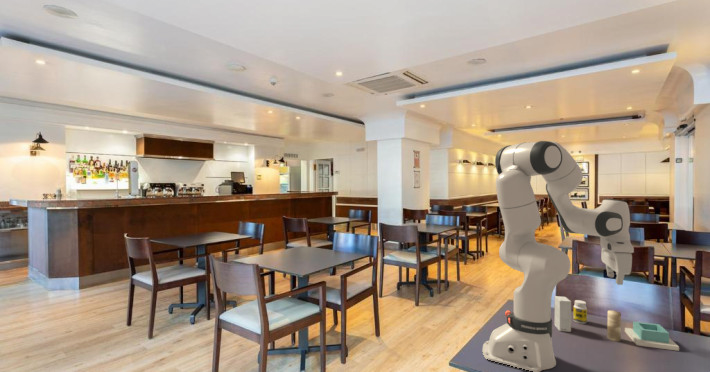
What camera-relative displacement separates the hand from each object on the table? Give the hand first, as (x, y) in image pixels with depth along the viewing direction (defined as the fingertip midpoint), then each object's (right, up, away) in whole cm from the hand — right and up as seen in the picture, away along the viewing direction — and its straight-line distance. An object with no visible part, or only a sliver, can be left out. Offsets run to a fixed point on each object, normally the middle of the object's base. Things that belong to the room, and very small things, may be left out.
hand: (614, 280), depth 131 cm
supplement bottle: (-3, -22, +16) cm, 27 cm away
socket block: (+12, -22, -1) cm, 25 cm away
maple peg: (0, -22, 0) cm, 22 cm away
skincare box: (-14, -22, +10) cm, 28 cm away
